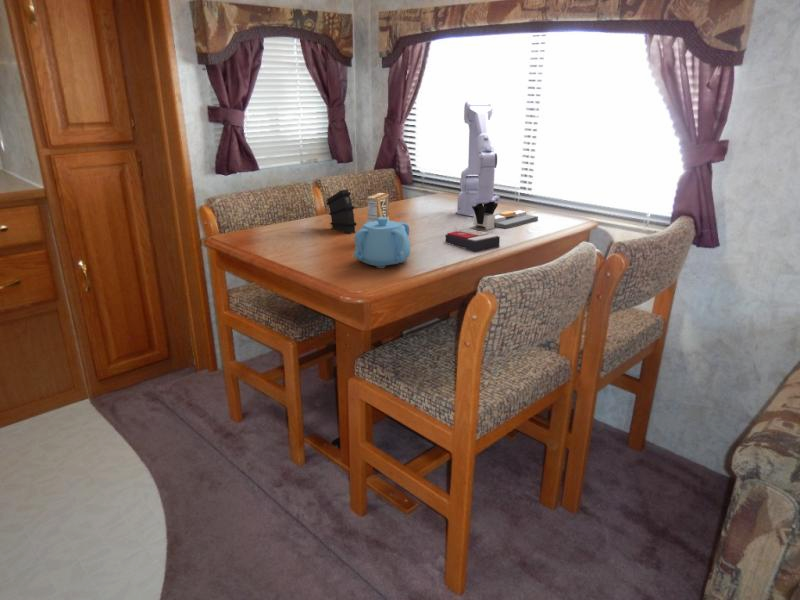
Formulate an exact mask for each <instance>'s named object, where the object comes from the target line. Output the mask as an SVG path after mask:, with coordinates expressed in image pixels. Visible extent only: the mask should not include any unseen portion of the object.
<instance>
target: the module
mask: <svg viewBox="0 0 800 600" xmlns="http://www.w3.org/2000/svg"><path fill="white" fill-rule="evenodd" d="M494 220H495V215H494V213H493V214H488V213H484V220H483V224H477V219H476V215H475V214H474V217H473V227H475V228H477V227H483V228H484V230H485V231H487V230H491V229H494V228H495V226H494Z"/></svg>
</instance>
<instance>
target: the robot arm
mask: <svg viewBox="0 0 800 600" xmlns="http://www.w3.org/2000/svg"><path fill="white" fill-rule="evenodd" d="M463 112H464V113H463V120H464V123H465V124H467V125H468V131H469V132H468V161H467V162H468V163H467V164H468V166H467V167H466V168H465V169H463V171H461V173H460V180H459V185H460V187H459V188H460V190H461V191H460V192H459V193H458V195H457V211H456V212H455V214H458V215H464V216H468V217H473V218H474V214H475V215H476V219H477V224H483V220H484V213H488V214H493V215H494V213H495V211H496V209H497V208H498V206H499V202H500V198H501V197H500V195H496V194H495V195H494V191H495V189H494V187H495V172H496V170H495V169H496V168H497V165H498V153H497V151H496V149H495V148H494V143H493V137H492V135H490V134H489V121H490V119H491V117H492V115H493V102H492V101H491V100H475V101H474V100H471V101H470V100H467V101H465V103H464V110H463Z"/></svg>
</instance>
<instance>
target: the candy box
mask: <svg viewBox="0 0 800 600" xmlns="http://www.w3.org/2000/svg"><path fill="white" fill-rule="evenodd" d="M366 199H367V222H369V221H371V222H375V221H377V218H379V217H386V218H388V221H390V217H389V216H390V194H389V193H385V192H378V193H375V194H373V195H369V196H367V198H366Z"/></svg>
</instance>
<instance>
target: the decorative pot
mask: <svg viewBox="0 0 800 600" xmlns="http://www.w3.org/2000/svg"><path fill="white" fill-rule="evenodd" d="M409 235H410V226H409V225H408V224H407V223H406V222H404V221H403V222H402V221H399V222H397V221H393V220H389V221H388V218H386V217H379V218H377V221H375V222H371V221H369V222H368V221H365V223H364V224H363V225H362V227H361V228H360V229H359V230H357V231H355V233H354V238H353V240H354V243H355V251H354V252H353V257H354V258H355V259H356V260H359V261H360V262H362V263H364V264H367V265H371V266H375V268H377V269H384V268H386V266H391V265H399V264H398V263H402V264H403V262H405V261H407V260H408V258H409V257H410V255H411V251H412V249H411V242H410V239H409ZM383 267H384V268H383Z"/></svg>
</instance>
